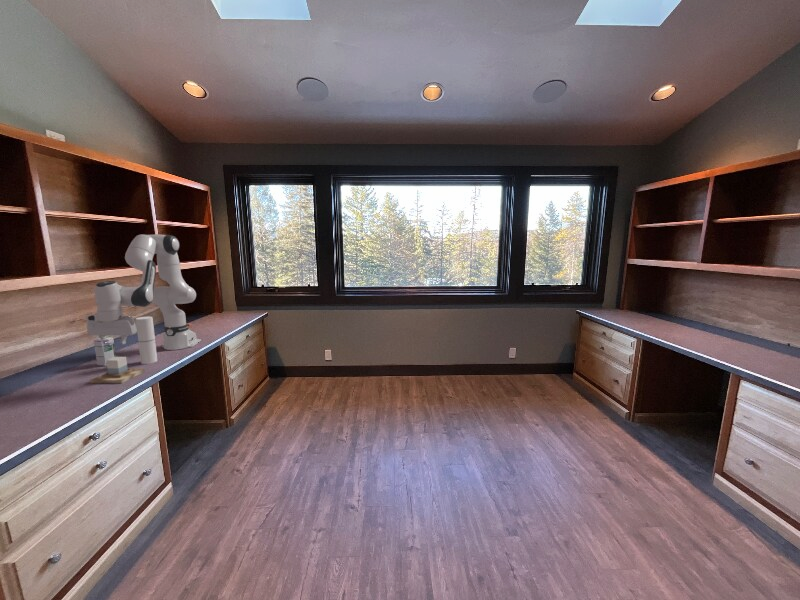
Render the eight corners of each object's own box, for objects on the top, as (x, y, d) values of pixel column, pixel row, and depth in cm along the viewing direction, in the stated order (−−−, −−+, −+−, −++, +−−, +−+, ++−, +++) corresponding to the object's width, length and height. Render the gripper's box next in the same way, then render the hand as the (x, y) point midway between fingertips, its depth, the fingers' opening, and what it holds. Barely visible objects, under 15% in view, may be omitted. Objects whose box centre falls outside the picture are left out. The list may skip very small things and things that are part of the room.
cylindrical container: (137, 364, 169) (132, 319, 165) (147, 359, 176) (142, 316, 172) (150, 364, 169) (145, 319, 165) (160, 359, 176) (155, 316, 172)
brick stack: (117, 372, 154) (115, 356, 153) (128, 372, 154) (126, 356, 153) (108, 376, 149) (106, 360, 148) (119, 376, 149) (117, 360, 148)
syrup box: (105, 366, 165) (101, 339, 163) (96, 365, 166) (93, 339, 164) (117, 362, 171) (113, 336, 169) (108, 361, 172) (105, 336, 170)
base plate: (116, 371, 158) (115, 366, 158) (144, 371, 159) (144, 366, 159) (90, 383, 145) (89, 377, 144) (121, 383, 145) (120, 377, 145)
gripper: (138, 314, 150) (141, 342, 153) (94, 314, 150) (98, 341, 152) (127, 317, 144) (131, 346, 146) (82, 317, 143) (86, 345, 146)
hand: (114, 343), depth 149 cm, fingers open, 6 cm apart
